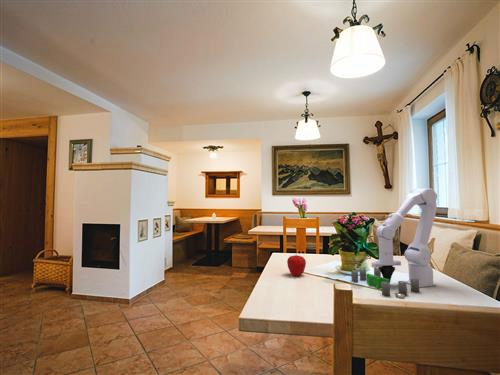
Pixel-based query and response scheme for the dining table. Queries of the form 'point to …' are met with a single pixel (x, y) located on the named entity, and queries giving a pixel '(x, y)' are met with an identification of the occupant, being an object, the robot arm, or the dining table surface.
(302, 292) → the dining table surface
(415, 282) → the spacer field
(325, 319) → the dining table surface
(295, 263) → the red rounded piece
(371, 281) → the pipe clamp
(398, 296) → the steel nut
